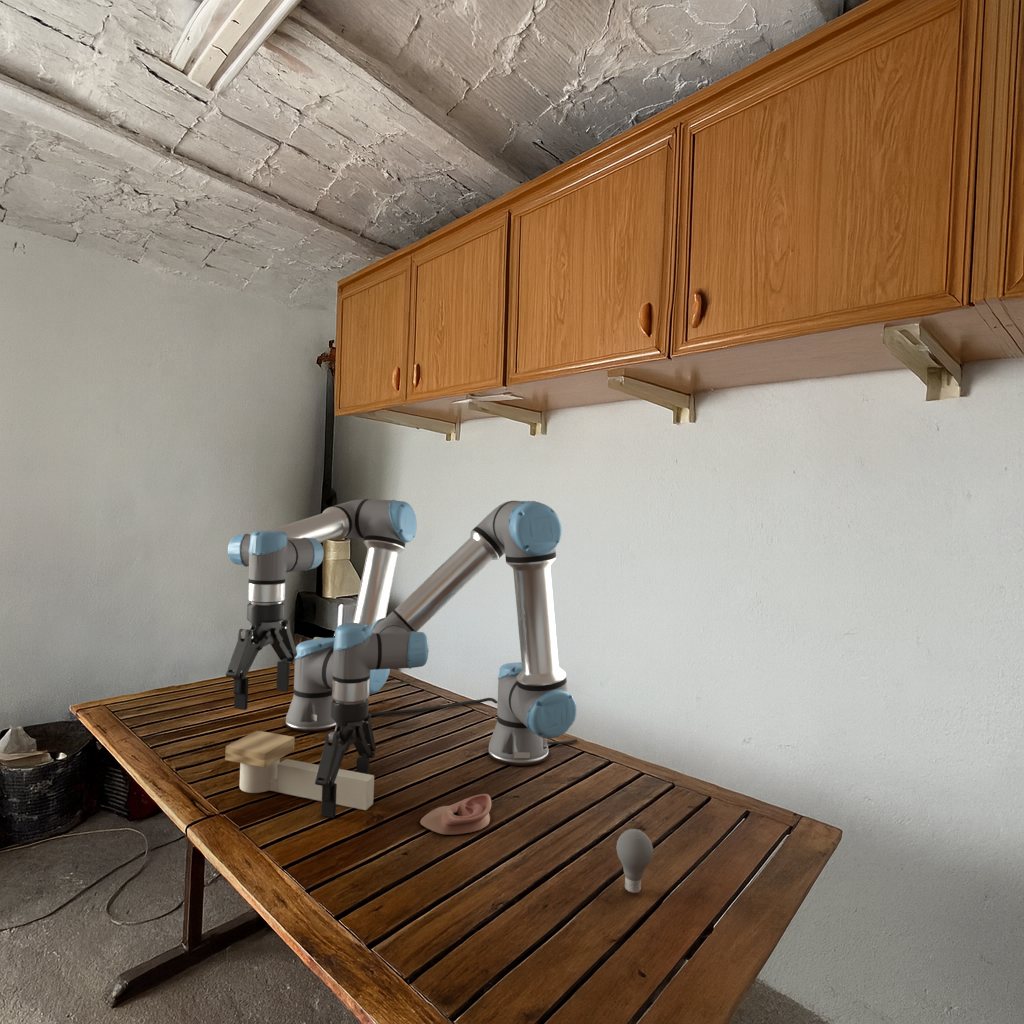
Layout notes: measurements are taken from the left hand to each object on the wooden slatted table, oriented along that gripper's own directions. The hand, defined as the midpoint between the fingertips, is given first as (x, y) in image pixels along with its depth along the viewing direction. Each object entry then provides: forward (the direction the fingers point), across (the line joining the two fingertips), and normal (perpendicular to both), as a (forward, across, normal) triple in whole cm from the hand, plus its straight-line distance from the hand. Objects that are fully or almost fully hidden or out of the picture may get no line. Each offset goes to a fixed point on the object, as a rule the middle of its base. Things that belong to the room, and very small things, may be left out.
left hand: (262, 699), depth 138 cm
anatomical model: (+19, -1, +46) cm, 49 cm away
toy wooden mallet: (+19, 0, +12) cm, 22 cm away
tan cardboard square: (+12, 0, 0) cm, 12 cm away
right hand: (+18, 0, +22) cm, 28 cm away
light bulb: (+19, +9, +82) cm, 84 cm away
